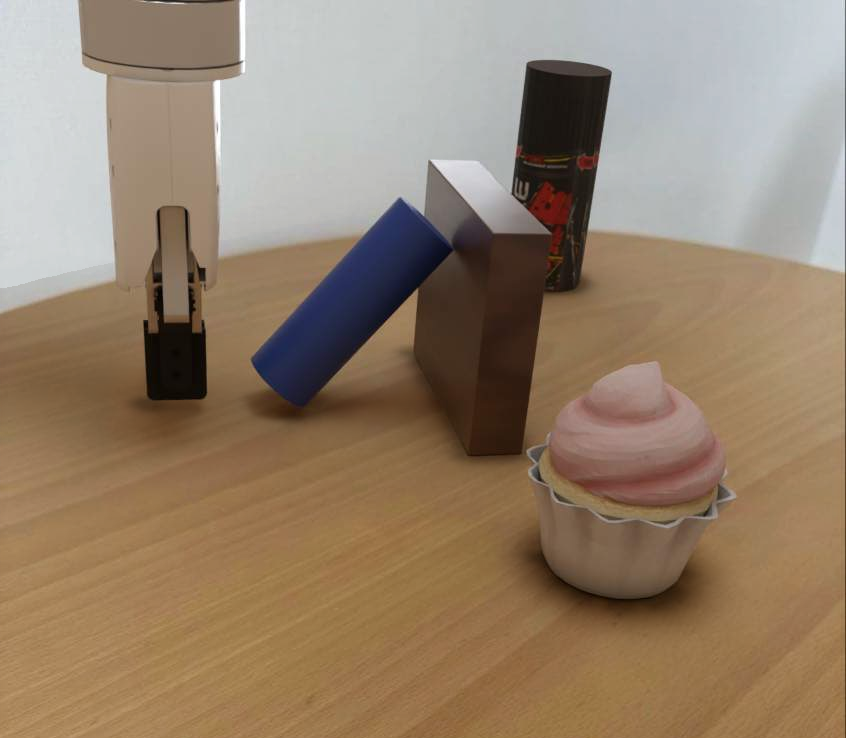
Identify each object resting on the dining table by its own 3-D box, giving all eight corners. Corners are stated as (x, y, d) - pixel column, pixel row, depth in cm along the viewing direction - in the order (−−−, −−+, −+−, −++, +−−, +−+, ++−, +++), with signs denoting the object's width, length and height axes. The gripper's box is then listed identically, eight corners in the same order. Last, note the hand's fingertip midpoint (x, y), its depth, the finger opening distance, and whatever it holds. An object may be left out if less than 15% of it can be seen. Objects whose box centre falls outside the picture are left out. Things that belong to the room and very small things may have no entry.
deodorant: (594, 280, 88) (627, 71, 80) (551, 297, 84) (582, 79, 76) (530, 260, 91) (557, 57, 83) (486, 275, 87) (509, 63, 79)
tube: (254, 418, 63) (257, 204, 57) (247, 388, 66) (250, 182, 60) (443, 416, 66) (466, 210, 59) (428, 387, 69) (448, 189, 63)
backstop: (468, 455, 61) (493, 233, 55) (412, 352, 73) (428, 159, 67) (522, 453, 62) (552, 234, 56) (458, 352, 74) (478, 160, 67)
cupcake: (748, 616, 50) (806, 408, 45) (544, 628, 48) (580, 412, 43) (667, 509, 58) (709, 321, 53) (489, 515, 56) (514, 320, 51)
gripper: (84, 6, 59) (107, 342, 69) (74, 59, 47) (104, 460, 56) (232, 14, 61) (234, 341, 70) (260, 67, 48) (258, 455, 58)
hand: (176, 393), depth 63 cm, fingers closed
